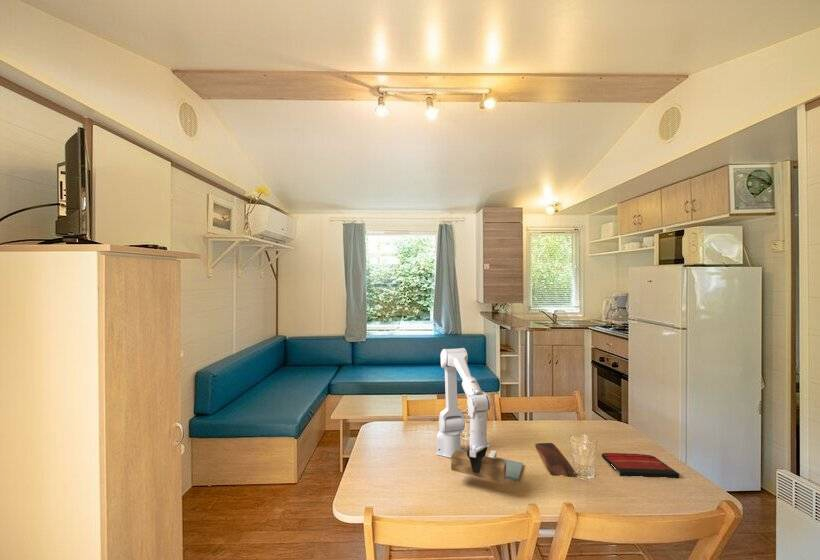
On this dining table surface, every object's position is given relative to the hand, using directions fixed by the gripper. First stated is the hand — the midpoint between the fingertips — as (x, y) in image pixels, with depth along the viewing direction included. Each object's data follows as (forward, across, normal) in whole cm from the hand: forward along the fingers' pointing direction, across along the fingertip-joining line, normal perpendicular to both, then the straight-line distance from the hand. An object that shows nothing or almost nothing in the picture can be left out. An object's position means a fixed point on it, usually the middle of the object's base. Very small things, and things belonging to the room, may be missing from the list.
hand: (478, 468), depth 123 cm
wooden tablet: (+8, +33, -22) cm, 41 cm away
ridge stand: (+7, +16, -1) cm, 17 cm away
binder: (+8, +41, -52) cm, 67 cm away
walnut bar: (+2, 0, 0) cm, 2 cm away
